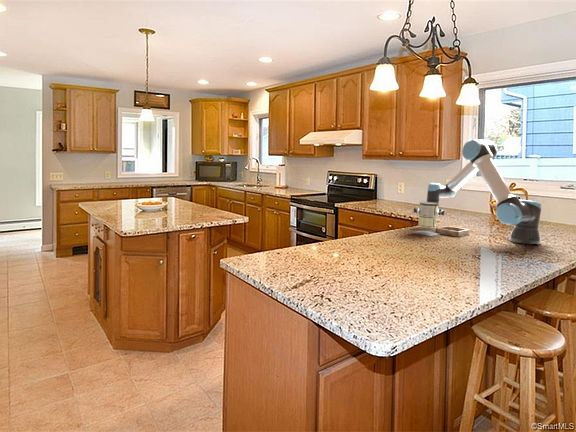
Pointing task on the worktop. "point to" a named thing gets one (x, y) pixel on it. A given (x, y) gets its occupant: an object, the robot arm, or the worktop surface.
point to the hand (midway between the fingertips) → (427, 213)
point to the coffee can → (428, 214)
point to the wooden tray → (452, 231)
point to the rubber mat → (426, 233)
